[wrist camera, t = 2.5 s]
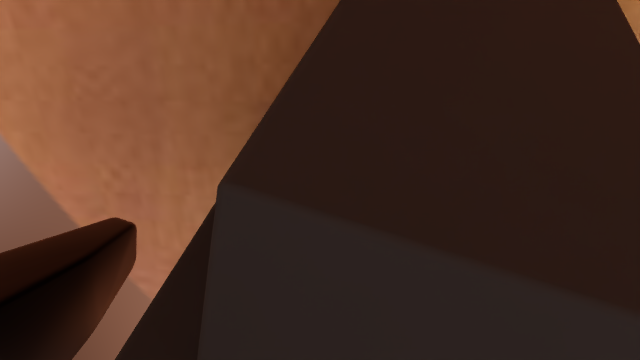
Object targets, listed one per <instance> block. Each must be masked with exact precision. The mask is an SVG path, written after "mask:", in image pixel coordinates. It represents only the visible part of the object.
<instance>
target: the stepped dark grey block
mask: <svg viewBox="0 0 640 360" xmlns="http://www.w3.org/2000/svg"><path fill="white" fill-rule="evenodd" d="M115 360H640V44H639V42H638V40H637V38H636V36H635V34H634V32H633V30H632V28H631V27H630V25H629V23H628V21H627V19H626V17H625V15H624V13H623V11H622V9H621V8H620V6H619V4H618V2H617V0H340V2H339V3H338V5H337V6H336V8H335V9H334V11H333V12H332V14H331V16H330V17H329V19H328V20H327V22H326V23H325V25H324V26H323V28H322V29H321V31H320V32H319V34H318V35H317V37H316V38H315V40H314V41H313V43H312V44H311V46H310V47H309V49H308V50H307V52H306V53H305V55H304V56H303V58H302V59H301V61H300V62H299V64H298V65H297V67H296V68H295V70H294V71H293V73H292V74H291V76H290V77H289V79H288V81H287V82H286V84H285V85H284V87H283V88H282V90H281V91H280V93H279V94H278V96H277V97H276V99H275V100H274V102H273V103H272V105H271V106H270V108H269V109H268V111H267V112H266V114H265V115H264V117H263V118H262V120H261V121H260V123H259V124H258V126H257V127H256V129H255V130H254V132H253V133H252V135H251V136H250V138H249V139H248V141H247V143H246V144H245V146H244V147H243V149H242V150H241V152H240V153H239V155H238V156H237V158H236V159H235V161H234V162H233V164H232V165H231V167H230V168H229V170H228V171H227V173H226V174H225V176H224V177H223V179H222V180H221V182H220V183H219V185H218V189H217V197H216V203H215V204H214V206H213V207H212V209H211V210H210V212H209V214H208V215H207V217H206V218H205V220H204V221H203V223H202V224H201V226H200V228H199V229H198V231H197V232H196V234H195V235H194V237H193V239H192V240H191V242H190V243H189V245H188V246H187V248H186V249H185V251H184V253H183V254H182V256H181V257H180V259H179V260H178V262H177V263H176V265H175V267H174V268H173V270H172V271H171V273H170V274H169V276H168V277H167V279H166V281H165V282H164V284H163V285H162V287H161V288H160V290H159V292H158V293H157V295H156V296H155V298H154V299H153V301H152V302H151V304H150V306H149V307H148V309H147V310H146V312H145V313H144V315H143V316H142V318H141V320H140V321H139V323H138V324H137V326H136V327H135V329H134V331H133V332H132V334H131V335H130V337H129V338H128V340H127V341H126V343H125V345H124V346H123V348H122V349H121V351H120V352H119V354H118V355H117V357H116V359H115Z"/></svg>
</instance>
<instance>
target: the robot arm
mask: <svg viewBox="0 0 640 360" xmlns="http://www.w3.org/2000/svg"><path fill="white" fill-rule="evenodd" d="M136 238H137V230H136V226H135V224H134V223H132V222H129V221H126V220H123V219H120V218H116V217H115V218H110V219H106V220H103V221H100V222H97V223H94V224H91V225H88V226H84V227H81V228H78V229H75V230H72V231H69V232H65V233H62V234H59V235H56V236H53V237H50V238H46V239H43V240H40V241H37V242H34V243H31V244H28V245H24V246H22V247H18V248H15V249H12V250H9V251H5V252H2V253H0V360H72V358H73V357H74V356H75V355H76V353H77V352H78V351H79V350H80V348H81V347H82V346H83V345H84V343H85V342H86V341H87V340H88V338H89V337H90V336H91V334H92V333H93V331H94V330H95V328H96V327H97V325H98V324H99V322H100V321H101V319H102V317H103V316H104V314H105V313H106V311H107V309H108V308H109V306H110V304H111V302H112V301H113V299H114V298H115V296H116V295H117V293H118V291H119V289H120V288H121V286H122V285H123V283H124V281H125V280H126V278H127V277H128V275H129V273H130V272H131V270H132V268H133V266H134V263H135V260H136Z"/></svg>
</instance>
